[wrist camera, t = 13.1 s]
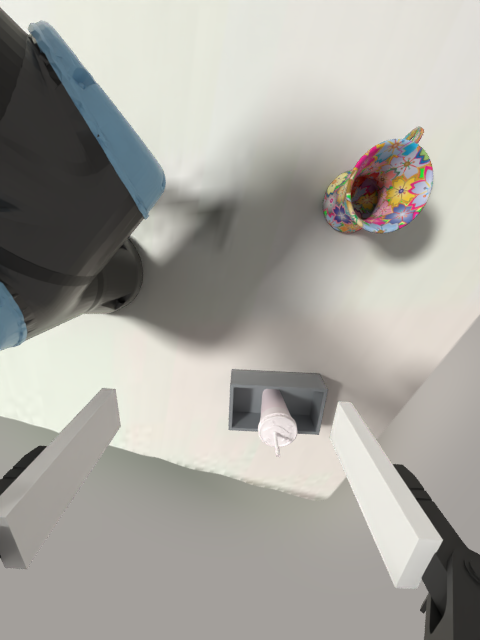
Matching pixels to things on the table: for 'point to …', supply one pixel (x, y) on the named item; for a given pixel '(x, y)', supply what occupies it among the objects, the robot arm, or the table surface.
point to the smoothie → (276, 421)
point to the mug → (381, 188)
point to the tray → (296, 389)
